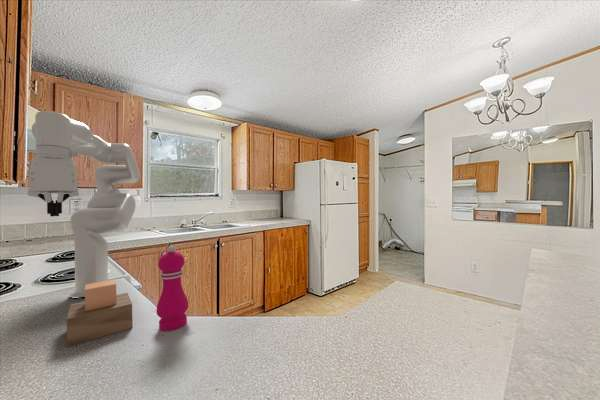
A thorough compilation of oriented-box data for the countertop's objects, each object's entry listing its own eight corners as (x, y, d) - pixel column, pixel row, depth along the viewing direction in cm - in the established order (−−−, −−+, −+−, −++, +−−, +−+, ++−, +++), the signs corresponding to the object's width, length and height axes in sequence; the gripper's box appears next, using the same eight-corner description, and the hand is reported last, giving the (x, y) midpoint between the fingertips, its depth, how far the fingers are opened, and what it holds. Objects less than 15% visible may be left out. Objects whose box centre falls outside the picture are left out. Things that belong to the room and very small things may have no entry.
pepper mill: (175, 333, 58) (173, 248, 59) (149, 331, 60) (147, 248, 60) (194, 319, 65) (192, 243, 66) (171, 318, 67) (169, 243, 67)
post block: (71, 327, 63) (70, 304, 64) (127, 313, 71) (127, 292, 71) (67, 346, 54) (66, 319, 54) (132, 327, 62) (132, 303, 62)
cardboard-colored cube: (85, 304, 63) (85, 284, 63) (115, 297, 67) (114, 279, 67) (85, 311, 59) (84, 289, 59) (116, 303, 62) (116, 283, 63)
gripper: (87, 159, 81) (88, 215, 80) (19, 154, 71) (19, 217, 71) (87, 154, 75) (87, 214, 74) (12, 148, 66) (13, 217, 65)
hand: (54, 216), depth 73 cm, fingers closed
